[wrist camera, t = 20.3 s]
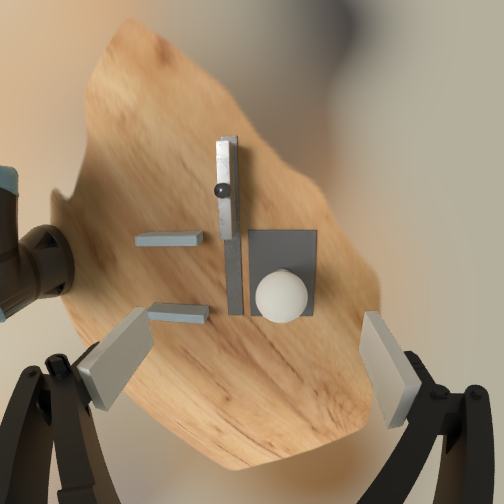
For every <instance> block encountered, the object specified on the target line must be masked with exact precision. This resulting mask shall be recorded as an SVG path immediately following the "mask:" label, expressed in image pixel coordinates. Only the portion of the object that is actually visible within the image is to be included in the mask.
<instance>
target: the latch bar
mask: <svg viewBox="0 0 504 504" xmlns="http://www.w3.org/2000/svg"><path fill="white" fill-rule="evenodd" d="M216 147H217V181H218V184H217V185H216V186H215V189H214V193H215V195H216V196H217V197H218V207H219V229H220V239H233V237H234V236H235V235H236V233H237V221H236V191H235V158H234V144H233V143H231V142H230V141H229V140H228V141H216Z"/></svg>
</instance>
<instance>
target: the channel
mask: <svg viewBox="0 0 504 504" xmlns="http://www.w3.org/2000/svg"><path fill="white" fill-rule="evenodd" d="M202 241H203V231H170V232H144V233H142V234H140V235H138V236H135V243H136V246H197V245H199V244H200V243H201V242H202ZM147 313H148V319H150V320H160V321H172V322H185V323H201V324H204V323H205V321H206V319H207V317H208V315H209V306H206V305H185V304H168V303H153V304H152V306H151V307H150V308H149V309H148V310H147Z"/></svg>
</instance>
